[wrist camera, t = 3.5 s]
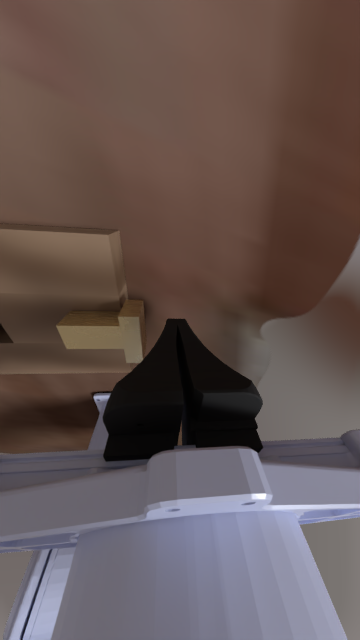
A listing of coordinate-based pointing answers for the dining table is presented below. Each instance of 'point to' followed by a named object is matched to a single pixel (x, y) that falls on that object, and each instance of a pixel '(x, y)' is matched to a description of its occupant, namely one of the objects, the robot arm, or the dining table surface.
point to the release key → (107, 330)
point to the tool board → (57, 296)
